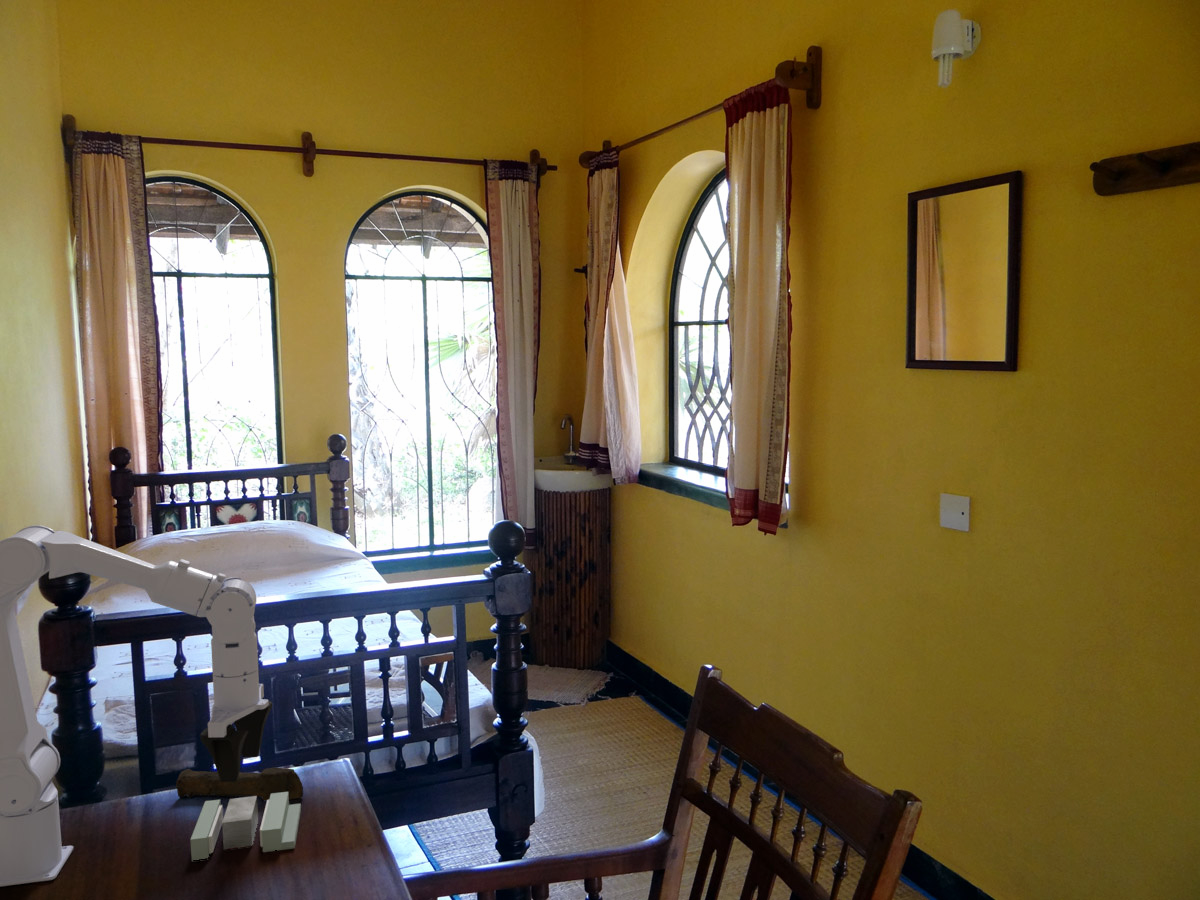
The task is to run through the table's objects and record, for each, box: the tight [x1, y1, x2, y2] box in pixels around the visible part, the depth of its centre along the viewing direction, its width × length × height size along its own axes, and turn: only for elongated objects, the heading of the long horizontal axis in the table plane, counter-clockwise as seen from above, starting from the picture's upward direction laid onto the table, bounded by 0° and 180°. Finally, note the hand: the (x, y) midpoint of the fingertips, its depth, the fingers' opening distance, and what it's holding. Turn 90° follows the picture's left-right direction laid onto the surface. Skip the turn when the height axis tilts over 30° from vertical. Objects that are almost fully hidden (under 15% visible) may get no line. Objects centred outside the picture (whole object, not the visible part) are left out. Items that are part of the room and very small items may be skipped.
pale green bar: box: [259, 792, 302, 853], centre depth 130 cm, size 4×11×3 cm, turn 13°
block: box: [221, 796, 259, 850], centre depth 129 cm, size 4×7×4 cm, turn 14°
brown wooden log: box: [175, 766, 304, 802], centre depth 140 cm, size 19×4×5 cm, turn 82°
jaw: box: [190, 799, 224, 862], centre depth 128 cm, size 2×11×3 cm, turn 14°
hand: (240, 768), depth 127 cm, fingers open, 7 cm apart
